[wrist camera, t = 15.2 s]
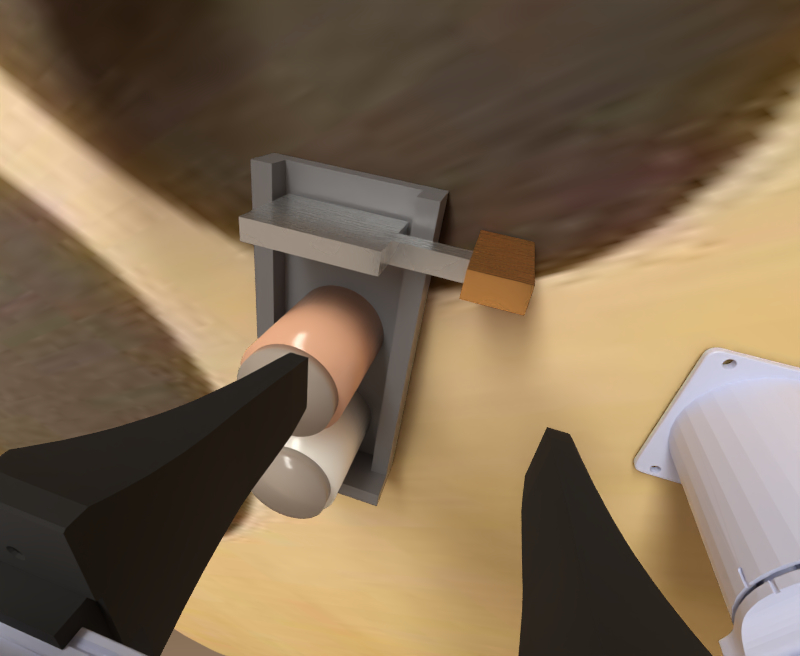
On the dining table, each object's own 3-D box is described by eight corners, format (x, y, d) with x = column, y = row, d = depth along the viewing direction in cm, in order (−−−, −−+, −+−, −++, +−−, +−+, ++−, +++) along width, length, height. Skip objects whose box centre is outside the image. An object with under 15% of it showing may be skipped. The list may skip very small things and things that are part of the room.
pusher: (534, 242, 19) (534, 287, 15) (526, 267, 19) (524, 316, 15) (297, 187, 20) (238, 214, 16) (297, 212, 21) (240, 243, 17)
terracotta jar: (401, 327, 22) (360, 400, 17) (352, 381, 25) (305, 458, 20) (324, 266, 21) (257, 323, 16) (283, 328, 24) (215, 393, 19)
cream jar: (375, 390, 25) (333, 470, 20) (366, 449, 27) (327, 534, 22) (296, 367, 25) (236, 438, 20) (295, 426, 28) (242, 503, 23)
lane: (448, 191, 19) (433, 211, 16) (392, 462, 28) (376, 506, 25) (274, 152, 20) (229, 164, 17) (277, 424, 30) (248, 462, 27)
